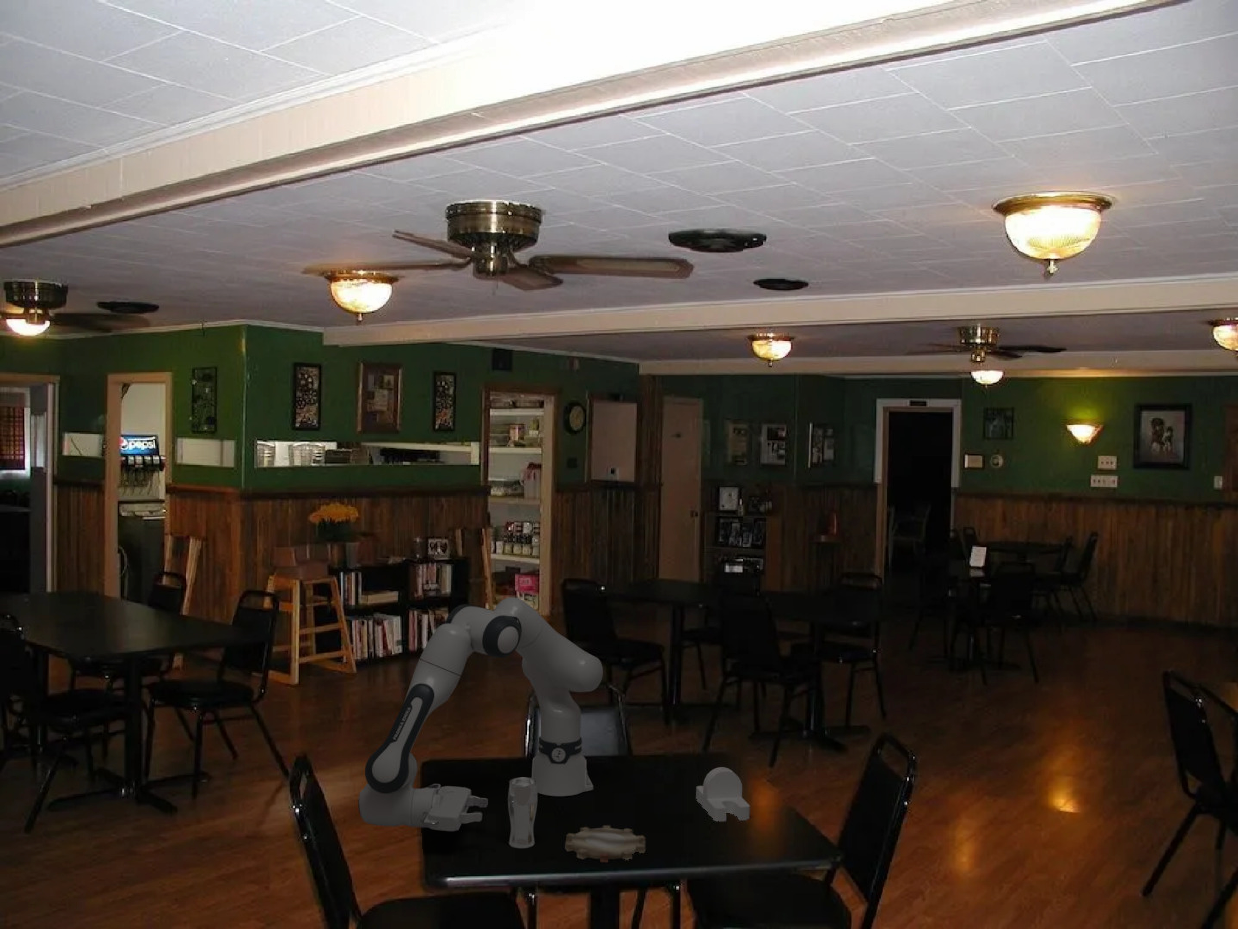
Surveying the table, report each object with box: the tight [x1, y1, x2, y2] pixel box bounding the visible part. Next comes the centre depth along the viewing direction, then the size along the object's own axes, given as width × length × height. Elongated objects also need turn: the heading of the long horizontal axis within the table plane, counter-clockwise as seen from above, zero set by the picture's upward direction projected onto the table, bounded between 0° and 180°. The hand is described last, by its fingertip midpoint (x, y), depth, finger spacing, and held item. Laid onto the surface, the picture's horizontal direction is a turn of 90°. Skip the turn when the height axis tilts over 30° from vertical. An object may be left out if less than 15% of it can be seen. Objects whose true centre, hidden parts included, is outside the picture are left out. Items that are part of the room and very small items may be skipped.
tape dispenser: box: [695, 766, 751, 822], centre depth 291 cm, size 10×18×11 cm, turn 12°
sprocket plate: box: [564, 824, 646, 863], centre depth 263 cm, size 19×19×2 cm
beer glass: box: [507, 776, 538, 849], centre depth 263 cm, size 7×7×15 cm
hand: (484, 809), depth 263 cm, fingers open, 8 cm apart
